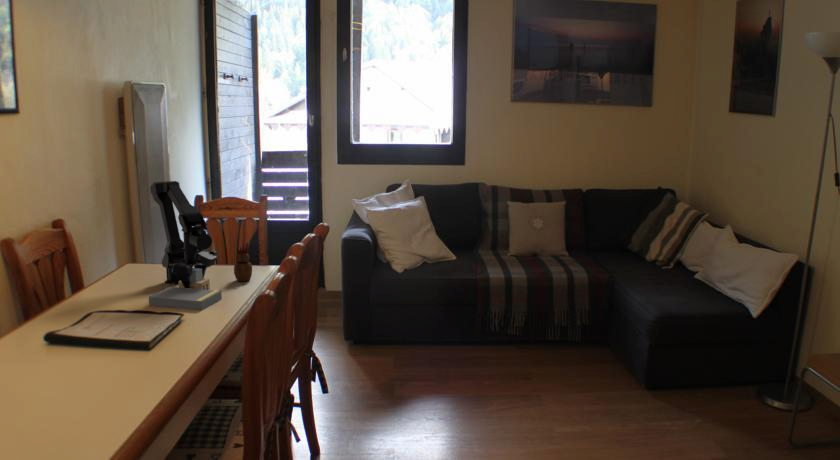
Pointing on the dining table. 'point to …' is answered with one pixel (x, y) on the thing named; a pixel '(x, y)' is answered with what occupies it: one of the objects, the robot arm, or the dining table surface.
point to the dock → (185, 298)
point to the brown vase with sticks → (243, 265)
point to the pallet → (197, 284)
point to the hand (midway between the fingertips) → (194, 286)
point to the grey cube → (196, 275)
